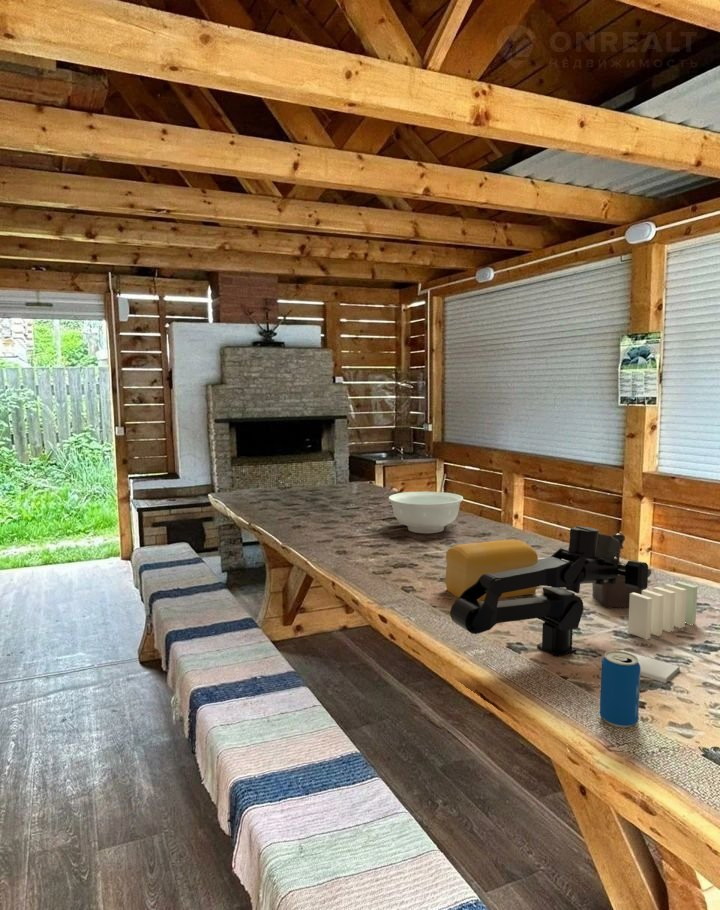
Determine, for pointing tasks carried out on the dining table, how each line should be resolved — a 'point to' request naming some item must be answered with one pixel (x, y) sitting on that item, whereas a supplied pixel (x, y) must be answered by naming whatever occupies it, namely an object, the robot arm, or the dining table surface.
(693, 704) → the dining table surface
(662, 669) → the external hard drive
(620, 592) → the dark brown boxy piece
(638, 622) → the domino
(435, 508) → the bowl
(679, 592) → the domino
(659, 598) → the domino
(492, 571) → the bread
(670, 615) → the domino
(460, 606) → the robot arm
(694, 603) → the domino
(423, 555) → the dining table surface
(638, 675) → the beverage can
